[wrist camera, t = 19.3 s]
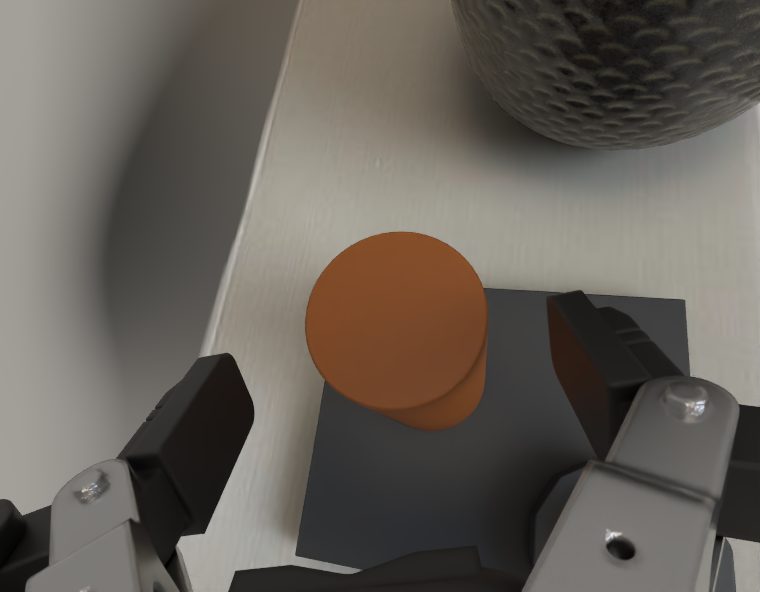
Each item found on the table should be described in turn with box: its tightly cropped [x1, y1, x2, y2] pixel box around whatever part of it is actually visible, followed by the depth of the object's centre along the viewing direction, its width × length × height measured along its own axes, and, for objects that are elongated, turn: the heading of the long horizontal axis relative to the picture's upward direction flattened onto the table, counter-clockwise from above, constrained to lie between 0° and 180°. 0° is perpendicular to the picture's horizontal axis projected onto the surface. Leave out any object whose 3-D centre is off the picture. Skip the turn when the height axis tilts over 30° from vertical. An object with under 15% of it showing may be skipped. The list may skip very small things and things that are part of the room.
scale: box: [296, 288, 736, 592], centre depth 20 cm, size 16×14×4 cm
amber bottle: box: [305, 232, 488, 431], centre depth 17 cm, size 5×5×10 cm
